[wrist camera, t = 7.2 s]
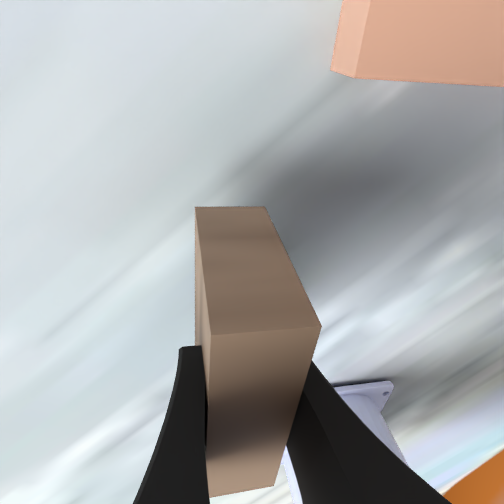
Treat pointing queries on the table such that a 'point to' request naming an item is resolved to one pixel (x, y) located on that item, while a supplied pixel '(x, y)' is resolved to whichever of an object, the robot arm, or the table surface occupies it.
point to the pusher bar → (248, 344)
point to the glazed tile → (422, 41)
